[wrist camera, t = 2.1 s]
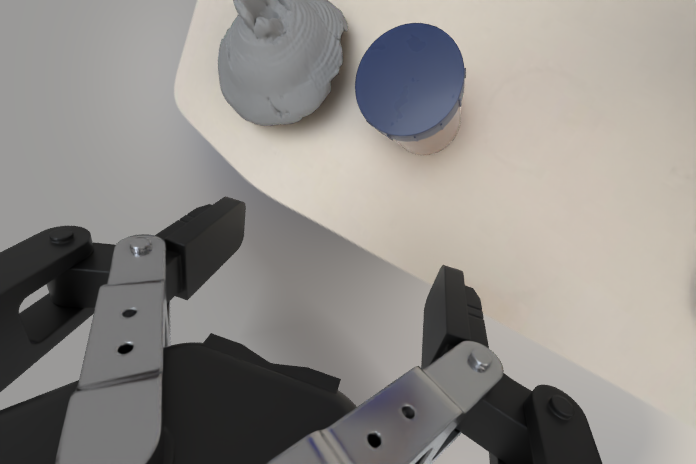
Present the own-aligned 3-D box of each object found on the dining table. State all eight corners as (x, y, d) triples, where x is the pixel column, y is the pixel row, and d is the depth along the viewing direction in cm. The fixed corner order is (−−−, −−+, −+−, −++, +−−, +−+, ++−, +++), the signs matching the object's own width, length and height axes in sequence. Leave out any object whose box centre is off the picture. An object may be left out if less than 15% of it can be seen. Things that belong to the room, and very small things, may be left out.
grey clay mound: (290, 8, 34) (243, -111, 24) (380, 67, 32) (371, -36, 21) (215, 98, 34) (134, 18, 24) (300, 165, 32) (252, 108, 21)
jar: (420, 74, 28) (399, 13, 19) (475, 110, 27) (481, 64, 18) (380, 131, 30) (344, 99, 21) (431, 168, 29) (416, 152, 20)
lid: (403, 19, 21) (397, 2, 19) (487, 72, 19) (489, 59, 18) (345, 107, 22) (335, 98, 20) (420, 161, 21) (416, 157, 19)
